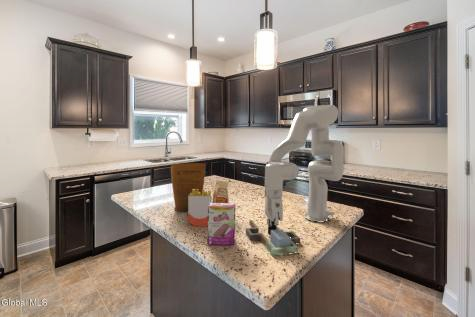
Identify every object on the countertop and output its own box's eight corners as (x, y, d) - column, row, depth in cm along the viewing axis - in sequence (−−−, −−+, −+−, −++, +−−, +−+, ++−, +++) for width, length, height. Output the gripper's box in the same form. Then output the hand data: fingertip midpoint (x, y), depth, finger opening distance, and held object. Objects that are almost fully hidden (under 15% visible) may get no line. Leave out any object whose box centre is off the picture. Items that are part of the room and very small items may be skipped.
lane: (277, 222, 123) (277, 218, 123) (308, 252, 93) (308, 246, 92) (240, 225, 119) (240, 220, 118) (260, 257, 88) (260, 250, 88)
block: (281, 240, 103) (281, 229, 102) (290, 250, 94) (291, 238, 93) (270, 241, 102) (270, 230, 101) (278, 251, 93) (279, 239, 92)
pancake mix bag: (205, 212, 137) (205, 163, 134) (170, 212, 135) (170, 163, 132) (205, 208, 144) (205, 162, 141) (172, 209, 142) (172, 161, 139)
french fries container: (190, 222, 121) (190, 187, 119) (211, 222, 122) (211, 187, 120) (188, 225, 117) (188, 189, 115) (210, 226, 117) (211, 189, 115)
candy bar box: (207, 245, 97) (207, 206, 95) (208, 240, 102) (208, 202, 100) (235, 245, 97) (235, 206, 95) (234, 240, 102) (235, 202, 100)
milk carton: (214, 219, 127) (214, 181, 125) (211, 213, 136) (211, 178, 134) (230, 217, 129) (231, 181, 127) (227, 212, 138) (227, 177, 136)
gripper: (289, 197, 95) (287, 241, 97) (275, 188, 110) (273, 227, 112) (271, 197, 94) (269, 242, 96) (259, 188, 108) (258, 228, 110)
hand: (272, 234), depth 104 cm, fingers closed
